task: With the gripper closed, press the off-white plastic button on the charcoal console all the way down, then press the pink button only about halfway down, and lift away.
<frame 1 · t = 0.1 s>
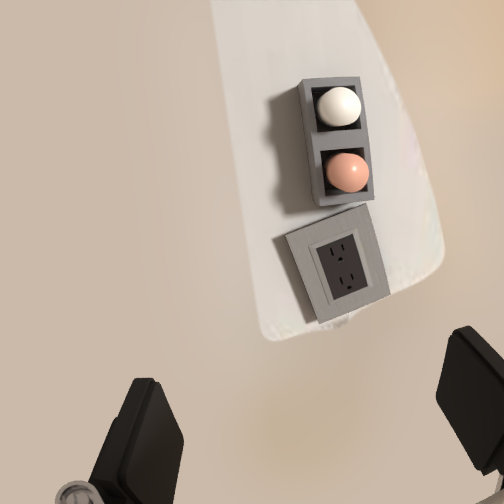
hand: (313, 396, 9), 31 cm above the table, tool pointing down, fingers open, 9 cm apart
button console: (332, 140, 36), on the table
electrical outlet: (338, 261, 41), on the table
pink button: (345, 171, 33), point 4 cm above the table, slide at 0.0 cm
white button: (337, 107, 31), point 4 cm above the table, slide at 0.0 cm
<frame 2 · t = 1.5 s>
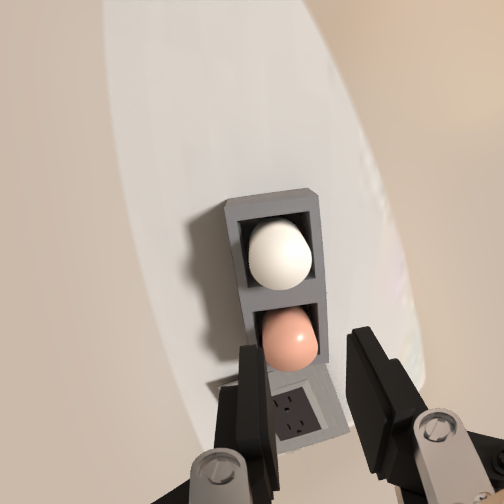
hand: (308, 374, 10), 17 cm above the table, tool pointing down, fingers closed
button console: (278, 274, 28), on the table
electrical outlet: (288, 400, 33), on the table
pink button: (288, 336, 25), point 4 cm above the table, slide at 0.0 cm
white button: (278, 251, 22), point 4 cm above the table, slide at 0.0 cm
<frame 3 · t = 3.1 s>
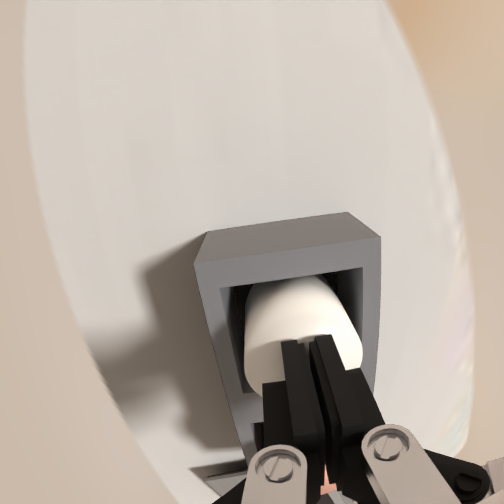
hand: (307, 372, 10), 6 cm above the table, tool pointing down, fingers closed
button console: (293, 349, 17), on the table
electrical outlet: (298, 480, 22), on the table
pink button: (307, 449, 14), point 4 cm above the table, slide at 0.0 cm
white button: (297, 333, 12), point 4 cm above the table, slide at 0.6 cm, touching gripper
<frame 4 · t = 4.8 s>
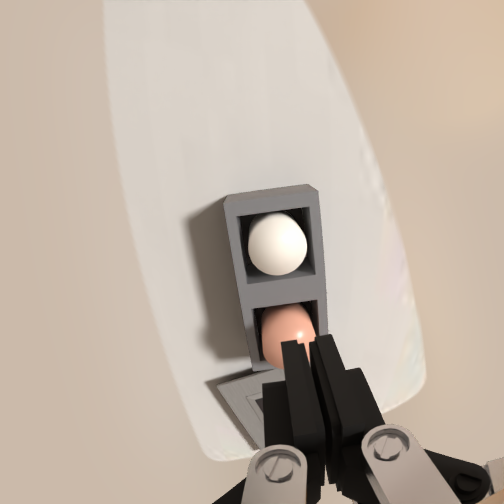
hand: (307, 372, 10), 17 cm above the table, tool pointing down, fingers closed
button console: (278, 271, 27), on the table
electrical outlet: (288, 399, 33), on the table
pink button: (287, 333, 24), point 4 cm above the table, slide at 0.0 cm
white button: (275, 239, 24), point 2 cm above the table, slide at 1.9 cm
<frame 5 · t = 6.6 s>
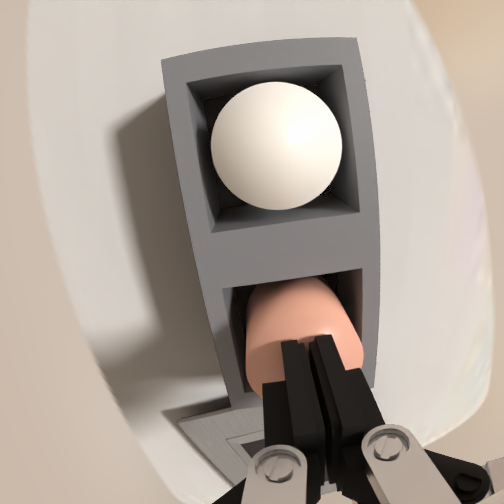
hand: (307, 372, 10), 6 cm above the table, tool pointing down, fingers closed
button console: (279, 222, 15), on the table
electrical outlet: (294, 436, 20), on the table
pink button: (298, 335, 12), point 4 cm above the table, slide at 0.4 cm, touching gripper
white button: (272, 145, 11), point 2 cm above the table, slide at 1.9 cm
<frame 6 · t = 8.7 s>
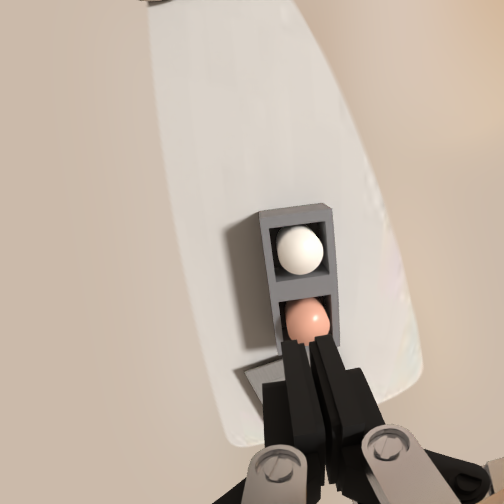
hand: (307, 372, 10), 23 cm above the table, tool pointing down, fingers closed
button console: (298, 273, 33), on the table
electrical outlet: (303, 386, 38), on the table
pink button: (305, 318, 31), point 3 cm above the table, slide at 1.0 cm
white button: (298, 247, 30), point 2 cm above the table, slide at 1.9 cm
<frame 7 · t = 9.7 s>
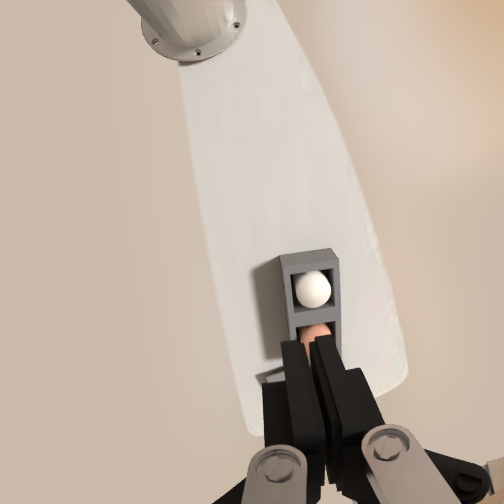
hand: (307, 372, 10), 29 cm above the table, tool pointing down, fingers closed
button console: (309, 302, 42), on the table
pink button: (315, 337, 40), point 3 cm above the table, slide at 1.0 cm
white button: (311, 285, 38), point 2 cm above the table, slide at 1.9 cm
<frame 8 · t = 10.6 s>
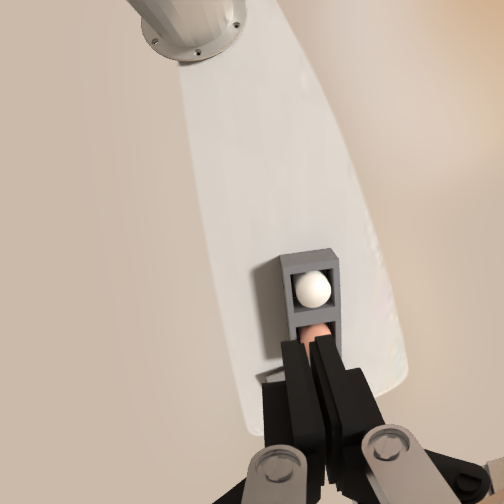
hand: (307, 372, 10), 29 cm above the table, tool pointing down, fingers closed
button console: (309, 302, 42), on the table
pink button: (315, 337, 40), point 3 cm above the table, slide at 1.0 cm
white button: (311, 285, 38), point 2 cm above the table, slide at 1.9 cm
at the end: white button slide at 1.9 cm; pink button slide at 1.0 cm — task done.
